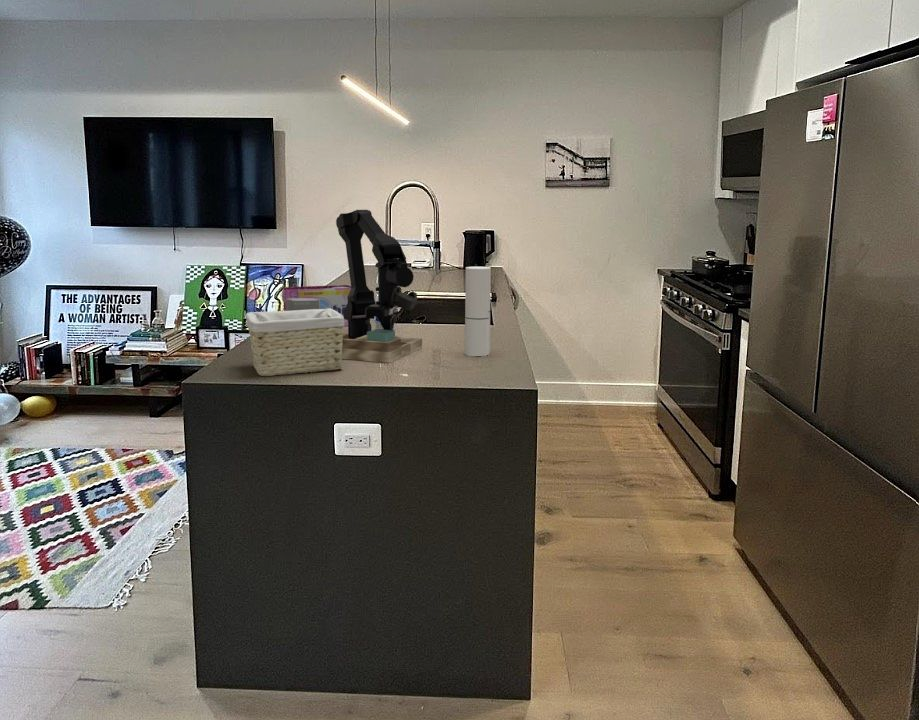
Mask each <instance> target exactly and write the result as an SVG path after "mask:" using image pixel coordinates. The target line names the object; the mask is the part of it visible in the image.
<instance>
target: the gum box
mask: <svg viewBox="0 0 919 720" xmlns="http://www.w3.org/2000/svg"><path fill="white" fill-rule="evenodd" d="M350 290H351V284H337V285H335V284H334V285H305V286H284V287H283V288H282V291H281V299H282V302H283V303H282V304H283V311H287V308H286V299H291V298H314V299H317V300H319V309H327V308H331V309H332V310H335V311H337V312H338V313H340V314H341V315H342V316H343V311H344V309H345V307H346V305H347V303H348V299H347V297H348V295H349V293H350ZM343 317H344V316H343ZM343 328H348V320H346V319H344V326H343Z"/></svg>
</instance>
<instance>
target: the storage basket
mask: <svg viewBox="0 0 919 720" xmlns="http://www.w3.org/2000/svg"><path fill="white" fill-rule="evenodd" d="M245 317H246V321H245V322H246V327H247V329H248V334H249V341H250V344H251V345H250V348H251V352H252V359H253V360H252V361H253V367H254V369H255V371H256V373H257V374H258V375H259V376H261V377H272V376H277V375H278V376H282V375H294V374H301V373H303V374H305V373H306V374H308V372H310V373H316V372H324V371H334V370H340V369H341V370H342V368H343V367H342V365H343V359H342V339H343V333H344V327H343V326H344V317H343V316H342V315H341V314H340V313H338V312H337V311H335V310H332V309H331V308H327V309H310V310H294V311H284V310H278V311H250V312H246V313H245Z"/></svg>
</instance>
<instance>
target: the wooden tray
mask: <svg viewBox="0 0 919 720" xmlns="http://www.w3.org/2000/svg"><path fill="white" fill-rule="evenodd" d="M342 335H343V339H342V360H343V359H345V360H353V361H364V362H372V363H373V362H374V363H375V362H376V363H385V364H386V363H387V364H391V363H393V362H395V361H398V360H399V359H401V358H404V357H406V356H408V355H411V354H413V353H415V352H417V351H419V350H421V349H423V338H420V337H419V338H418V337H409V336H408V337H406V336H396V335H395V339H394V340H391V341H389V342H378V341H367V335H365V336H362V337H359V338H356V339H349V338H348V333H344V334H342Z"/></svg>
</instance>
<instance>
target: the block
mask: <svg viewBox="0 0 919 720" xmlns="http://www.w3.org/2000/svg"><path fill="white" fill-rule="evenodd" d="M395 336H396V330H395V329H393V330H385V329H383V328H375V329H371V331H369V332H367V341H378V342H389V341H391V340H394V339H395Z"/></svg>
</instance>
